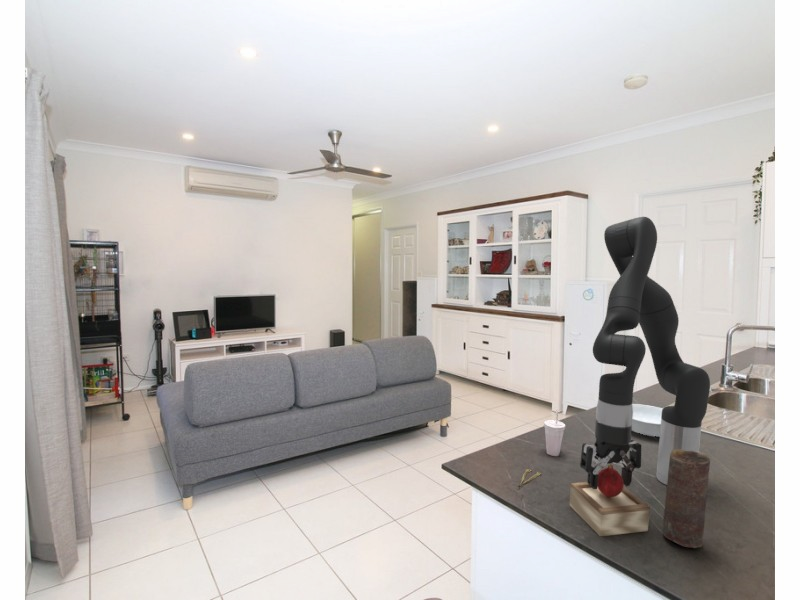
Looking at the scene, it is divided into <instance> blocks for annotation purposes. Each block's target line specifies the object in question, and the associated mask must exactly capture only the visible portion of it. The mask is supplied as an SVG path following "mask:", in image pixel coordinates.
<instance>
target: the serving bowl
mask: <svg viewBox="0 0 800 600" xmlns="http://www.w3.org/2000/svg"><path fill="white" fill-rule="evenodd" d="M663 408H664V407H663ZM663 408H662V407H659V406H653V405H647V404H640V403H632V409H633V417H632V430H631V432H634V433H637V434H639V433H640V435H642V434H643V435H644V436H646V435H647V436H646V437H655V436H656V437H658V438H660V427H661V415H662V409H663ZM643 435H642V436H643Z"/></svg>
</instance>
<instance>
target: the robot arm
mask: <svg viewBox="0 0 800 600" xmlns="http://www.w3.org/2000/svg"><path fill="white" fill-rule="evenodd" d="M603 237H604V238H603V239H604V243H605V246H606V250H607V252H608V253H609V257H610V259H611V260H612V263H613V264H614V266H615V268H616V271H618V274H619V278H618V279H617V280H616V282H615V283H614V284H613V286H612V288H611V290H610V292H609V295H608V300H607V307H606V313H605V314H606V315H605V318H604V321H603V324H602V327H601V328H600V330H599V332H598V334H597V335H596V338H595V340H594V342H593V345H592V353H593V354H592V355H593V357H594V359H595V361H597V362H598V363H600V364H605V365H613V366H619V367H625V369H623V371H621V372H611V373H609V372H608V373H605V374H602V375H601V376H600V377H599V382H598V384H599V385H598V388H599V389H598V397H597V398H598V400H597V403H596V409H595V410H596V413H595V428H594V436H595V442H594V444H587V443H586V442H585V443H582V445H581V454H580V460H579V461H580V462H579V467H580V468H581V469H583V470H584V471H585V472H586V473H587V481H586V482H588V484H589V486H590V487H591V488H593V489H597V484H598V473H599V472H600V471H601V470H602V468H603V469H604V468H605V467H606V466H607V464H608V465H610V464H613V463H615V464H621V465H622V467H621V474H620V475H621V477H622V479H623V483H624V484H623V486H624V487H630V485H631V483H632V480H633V478H632V477H633V472H634V470H635V469H641V468H642V444H640V443H639V442H637V441H635V440H634V439H632V417H633V409H632V404H633V398H634V397H633V396H634V387H635V380H636V378H637V375H638V372H639V370H640V366H641V364H642V363H643V360H644V358H645V355H646V349H647V348H646V344H647V347H648V350H649V352H650V355H651V359H652V364H653V366H654V371H655V375H656V379H657V381H658V384H659V385H660V387H661V388H662V389H663V390H664V391H665V392H667V393H669V394H671V395H674V396H675V400H674V401H675V402H674V405H669V406H667V405H666V406H665V407H663V409H662V415H661V427H660V437H659V440H658V441H659V442H658V452H657V453H658V454H657V464H656V465H657V466H656V479H657V481H659V482H660V483H662V484H664V485H666V486H667V481H668V471H669V461H670V454H671V452H672V451H673V450H676V449H680V450H684V451H694V452H698V453H702V451H701V450H700V444H701V431H702V424H703V423H702V422H703V419H704V418H705V416H706V413H707V409H708V404H709V403H708V402H709V397H710V390H711V381H710V375H709V374H708V373H707V371H706V370H704V369H703V368H700V367H699V366H696V365H692V364H690V363H687V362H684V361H683V359H682V357H681V356H680V353H679V350H678V348H677V345H676V336H677V332H678V327H679V315H678V311H677V308H676V306H675V303H674V301H673V298H672V296H671V294H670V293H669V292H668V291H667V289H665V288H664V287H663V286H661V284H659V283H658V282H656V281H655V280H653V278H651V277H649V276H648V274H649V271H650V269H651V266H652V261H653V260H654V256H655V252H656V248H657V243H658V233H657V227H656V226H655V223H654V222H653V220H652V219H651V218H649V217H648V216H639V217H634V218H630V219H628V220H624V221H620V222H617V223H613V224H611V225H608V226H607V227H606V228H605V229H604V235H603ZM638 326H640V329H641V331H642V333H643V337H644V339H645V341H646V344H645V342H644V341H643V339H642V338H641V337H639V336H635V335H627V334H620V333H619V332H623V331H630V330H634V329H636V328H637V327H638ZM618 333H619V334H618ZM628 452H629V453H628ZM627 454H629V456H628V455H627ZM702 454H703V453H702ZM599 459H600V461H599Z"/></svg>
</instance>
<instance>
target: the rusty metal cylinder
mask: <svg viewBox="0 0 800 600" xmlns="http://www.w3.org/2000/svg"><path fill="white" fill-rule="evenodd" d="M710 466H711V459H710V456H709V457H708V455H707V454H704V453H698V452H694V451H684V450H680V449H676V450H673V451H672V452H671V454H670V461H669V471H668V481H667V485H666V492H665V493H666V494H665V503H664V512H663V520H662V522H663V523H662V533H663V535H664V536H663V537H665V538H666V539H668V540H669V541H672V542H674V543H676V544H677V545H680V546H682V547H684V548H685V547H686V548H693V549H697V548H701V547H702V546H703V540H704V531H705V530H704V529H705V520H706V519H705V518H706V507H707V496H708V486H709V477H710V476H709V475H710Z"/></svg>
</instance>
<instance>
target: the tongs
mask: <svg viewBox="0 0 800 600" xmlns="http://www.w3.org/2000/svg"><path fill="white" fill-rule="evenodd" d="M529 470H530V471H529ZM532 471H533V469H529V468H528V469H527V468H526V470H525V472H524V473H523V475H522V477H521V480H520V482H519V484H518V485H517V487H516V488H515V489H517V491H518V490H519V489H521V488H522V487H523V486H525V485H526V484H528V483H529V482H531V481H533V480H534V479H535V478H537V477H539V476H541V475H542V473H541V472H538V471H536V474H534V475H532V476H531V477H530V478H528V479H527V480H525V478H526V475H527V474H528V473H529V472H532ZM524 480H525V481H524ZM520 485H521V486H520ZM520 487H521V488H520Z"/></svg>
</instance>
